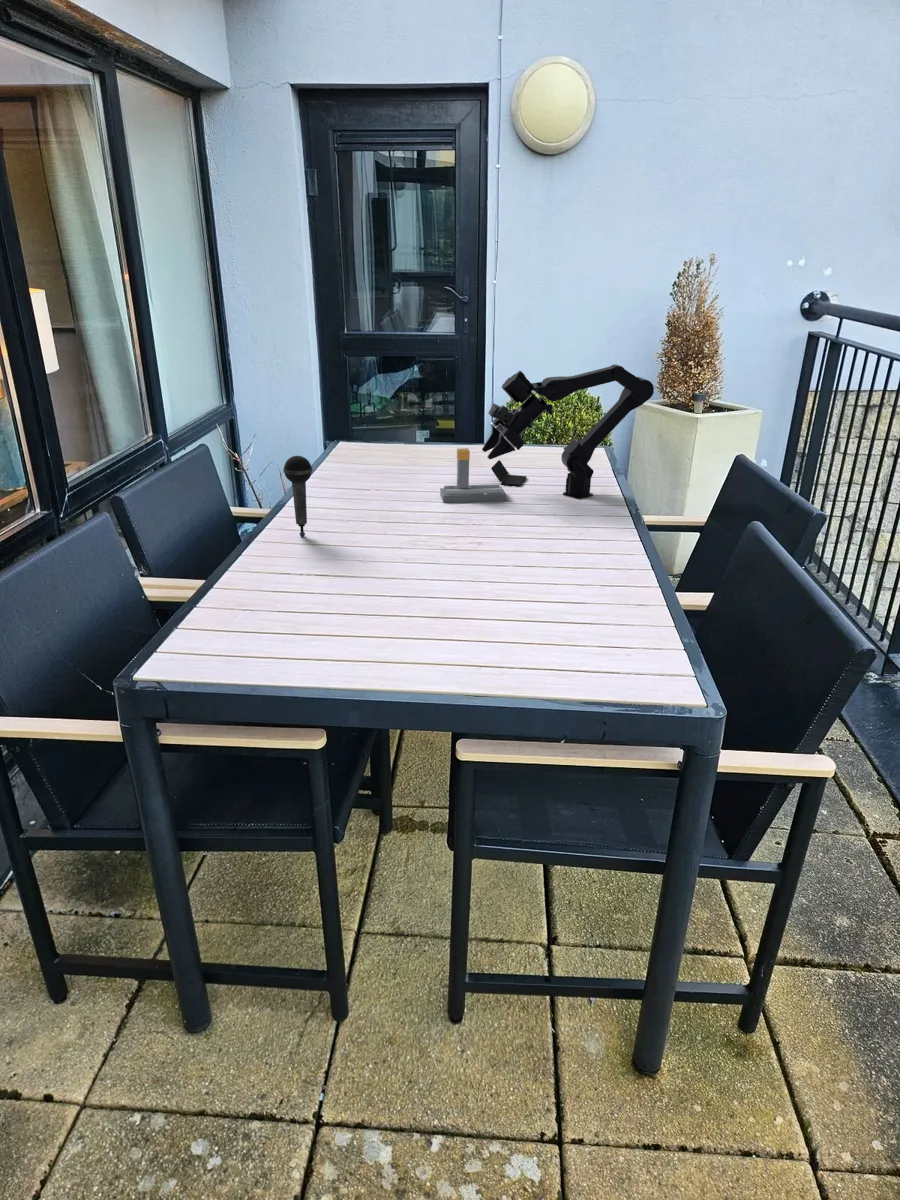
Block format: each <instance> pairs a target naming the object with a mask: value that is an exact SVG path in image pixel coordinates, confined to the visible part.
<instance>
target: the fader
mask: <svg viewBox="0 0 900 1200" xmlns="http://www.w3.org/2000/svg"><path fill="white" fill-rule="evenodd" d="M470 453H471V452H470V450H469V448H456V485H457V486H453V489H472V487H471V485H472V484H469V482H470V481H469V480H470V456H471V454H470Z"/></svg>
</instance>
